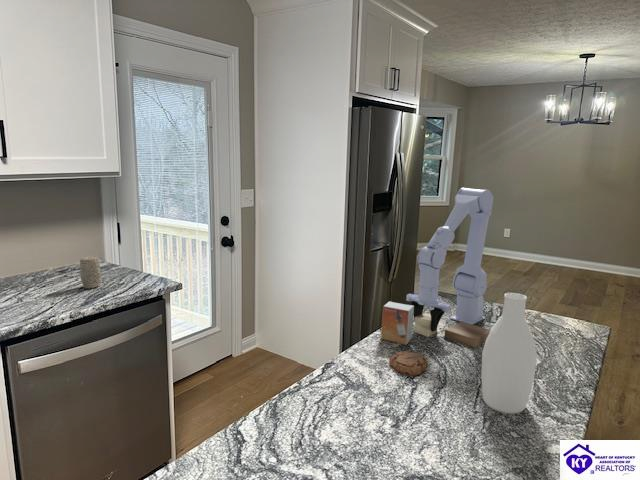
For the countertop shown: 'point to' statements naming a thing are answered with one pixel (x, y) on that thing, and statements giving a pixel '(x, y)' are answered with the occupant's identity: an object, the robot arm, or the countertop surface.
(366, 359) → the countertop surface
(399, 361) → the cookie
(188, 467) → the countertop surface
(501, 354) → the bottle
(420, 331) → the maple cube
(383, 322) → the small box
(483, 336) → the walnut block
